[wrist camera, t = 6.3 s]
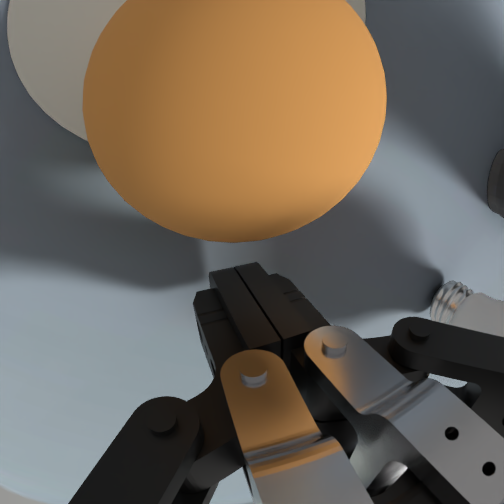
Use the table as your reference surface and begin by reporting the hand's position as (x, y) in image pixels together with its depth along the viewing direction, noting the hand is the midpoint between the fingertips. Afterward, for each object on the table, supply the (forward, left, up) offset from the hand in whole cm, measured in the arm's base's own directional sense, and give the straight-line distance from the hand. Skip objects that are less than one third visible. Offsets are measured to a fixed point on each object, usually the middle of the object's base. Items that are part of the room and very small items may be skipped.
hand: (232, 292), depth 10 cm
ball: (0, -6, +2) cm, 6 cm away
